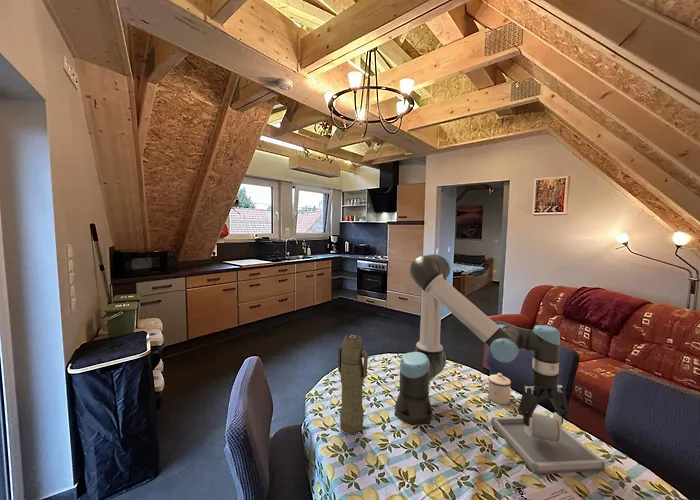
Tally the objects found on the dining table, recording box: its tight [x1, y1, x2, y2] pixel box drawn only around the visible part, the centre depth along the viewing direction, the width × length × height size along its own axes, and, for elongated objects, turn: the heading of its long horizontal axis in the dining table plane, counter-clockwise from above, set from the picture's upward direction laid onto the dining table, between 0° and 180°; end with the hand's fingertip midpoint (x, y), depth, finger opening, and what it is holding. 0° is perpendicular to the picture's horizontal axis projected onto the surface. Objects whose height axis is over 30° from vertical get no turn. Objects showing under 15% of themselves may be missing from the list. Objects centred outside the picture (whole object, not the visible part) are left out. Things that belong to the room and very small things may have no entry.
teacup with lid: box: [480, 372, 512, 405], centre depth 127 cm, size 12×9×12 cm
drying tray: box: [490, 415, 606, 475], centre depth 99 cm, size 23×23×2 cm
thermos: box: [337, 333, 369, 435], centre depth 107 cm, size 9×12×35 cm
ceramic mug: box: [531, 412, 560, 442], centre depth 100 cm, size 11×8×8 cm
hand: (542, 433), depth 99 cm, fingers closed on ceramic mug, 10 cm apart
